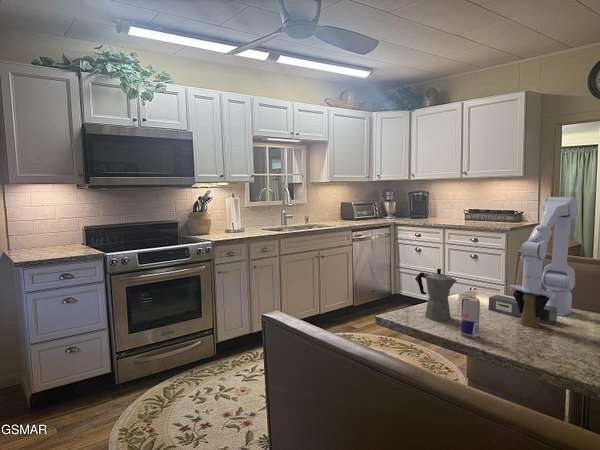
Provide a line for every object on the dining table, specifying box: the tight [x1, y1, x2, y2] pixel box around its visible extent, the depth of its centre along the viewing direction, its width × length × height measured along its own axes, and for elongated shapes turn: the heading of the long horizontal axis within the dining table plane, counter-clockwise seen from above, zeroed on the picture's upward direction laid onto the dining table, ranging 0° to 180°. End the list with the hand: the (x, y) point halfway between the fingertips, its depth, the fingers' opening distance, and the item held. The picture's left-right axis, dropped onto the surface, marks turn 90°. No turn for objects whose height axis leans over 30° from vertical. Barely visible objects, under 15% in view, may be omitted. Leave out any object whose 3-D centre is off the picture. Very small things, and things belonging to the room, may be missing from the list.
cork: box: [519, 293, 541, 328], centre depth 144 cm, size 6×6×11 cm
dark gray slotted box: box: [488, 294, 558, 325], centre depth 155 cm, size 6×22×5 cm, turn 36°
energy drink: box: [460, 296, 481, 339], centre depth 133 cm, size 5×5×12 cm
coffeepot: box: [416, 268, 457, 322], centre depth 153 cm, size 15×9×18 cm, turn 44°
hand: (530, 314), depth 145 cm, fingers open, 5 cm apart
